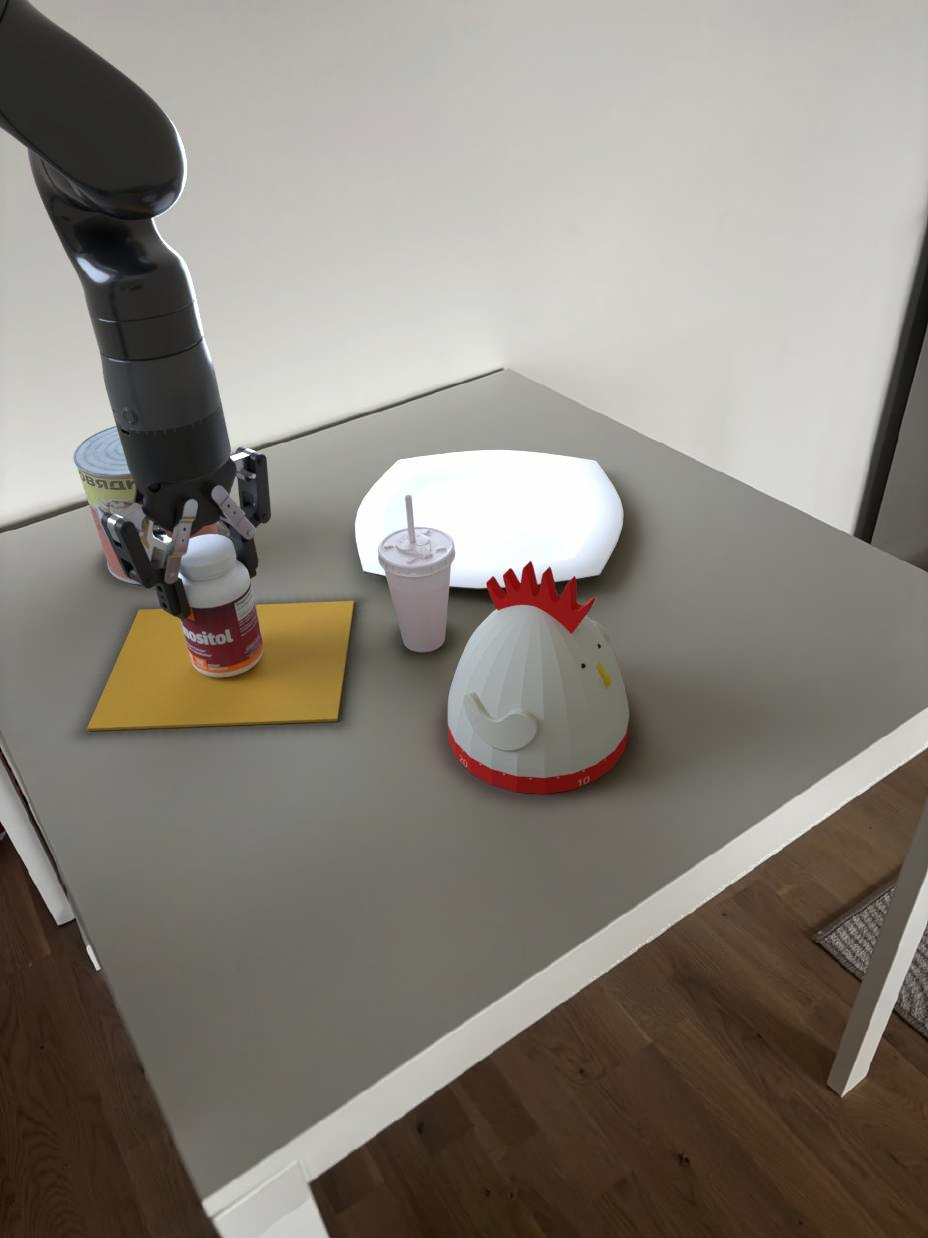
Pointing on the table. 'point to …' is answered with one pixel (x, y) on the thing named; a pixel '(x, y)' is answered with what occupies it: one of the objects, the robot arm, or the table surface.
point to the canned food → (111, 489)
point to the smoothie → (418, 581)
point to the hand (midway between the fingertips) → (213, 594)
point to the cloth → (265, 694)
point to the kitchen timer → (537, 691)
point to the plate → (499, 513)
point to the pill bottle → (219, 608)
